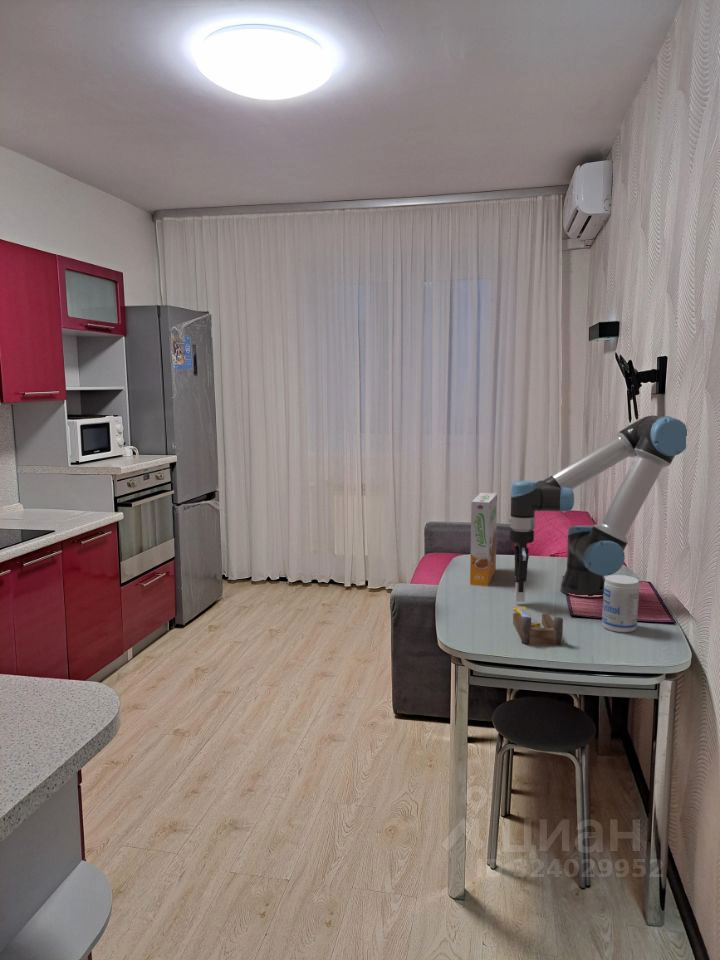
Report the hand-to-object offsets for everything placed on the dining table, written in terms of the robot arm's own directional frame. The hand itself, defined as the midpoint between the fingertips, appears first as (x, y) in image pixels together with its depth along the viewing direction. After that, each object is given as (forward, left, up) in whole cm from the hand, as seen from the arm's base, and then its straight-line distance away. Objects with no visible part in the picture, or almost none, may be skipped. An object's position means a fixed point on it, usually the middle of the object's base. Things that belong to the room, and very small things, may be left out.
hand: (519, 600), depth 225 cm
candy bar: (0, +14, -2) cm, 14 cm away
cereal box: (+8, -33, -1) cm, 34 cm away
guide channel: (0, +26, -1) cm, 26 cm away
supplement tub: (-25, +21, -1) cm, 33 cm away
